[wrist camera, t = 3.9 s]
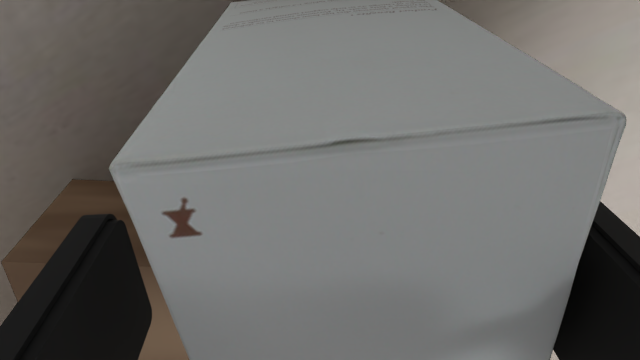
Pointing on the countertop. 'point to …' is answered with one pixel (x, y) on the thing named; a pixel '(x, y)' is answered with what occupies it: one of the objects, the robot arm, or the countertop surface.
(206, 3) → the countertop surface
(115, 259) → the robot arm
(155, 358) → the walnut block
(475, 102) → the supplement box
